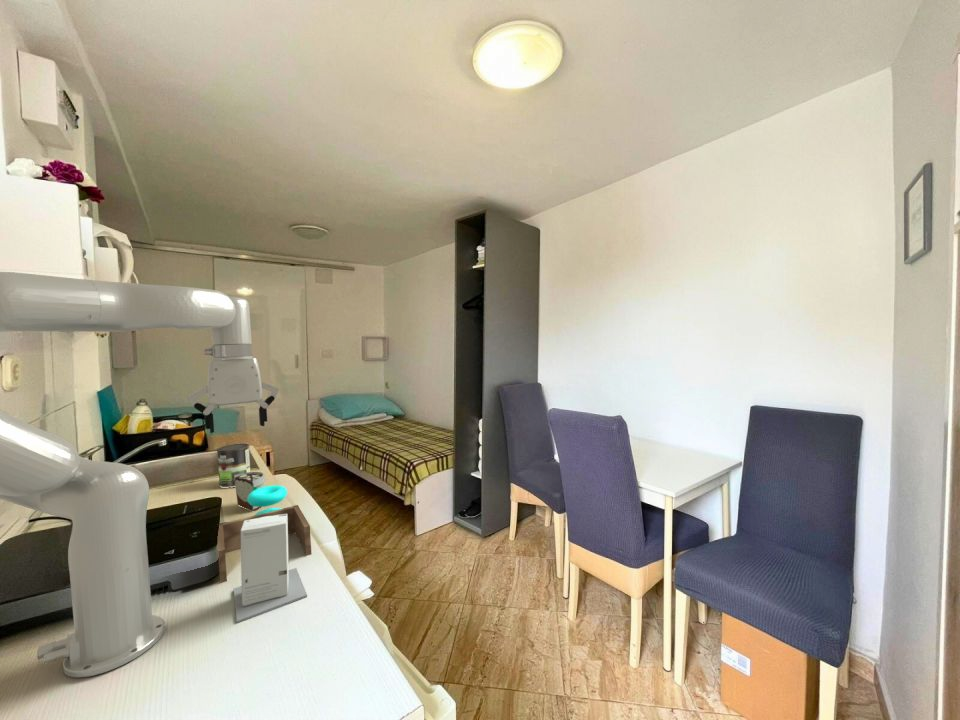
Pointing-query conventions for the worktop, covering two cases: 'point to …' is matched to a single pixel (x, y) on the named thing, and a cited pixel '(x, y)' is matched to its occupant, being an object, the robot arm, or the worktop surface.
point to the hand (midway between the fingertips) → (237, 428)
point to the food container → (247, 487)
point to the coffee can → (232, 463)
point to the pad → (252, 610)
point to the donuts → (267, 497)
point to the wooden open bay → (232, 530)
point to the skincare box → (264, 558)
